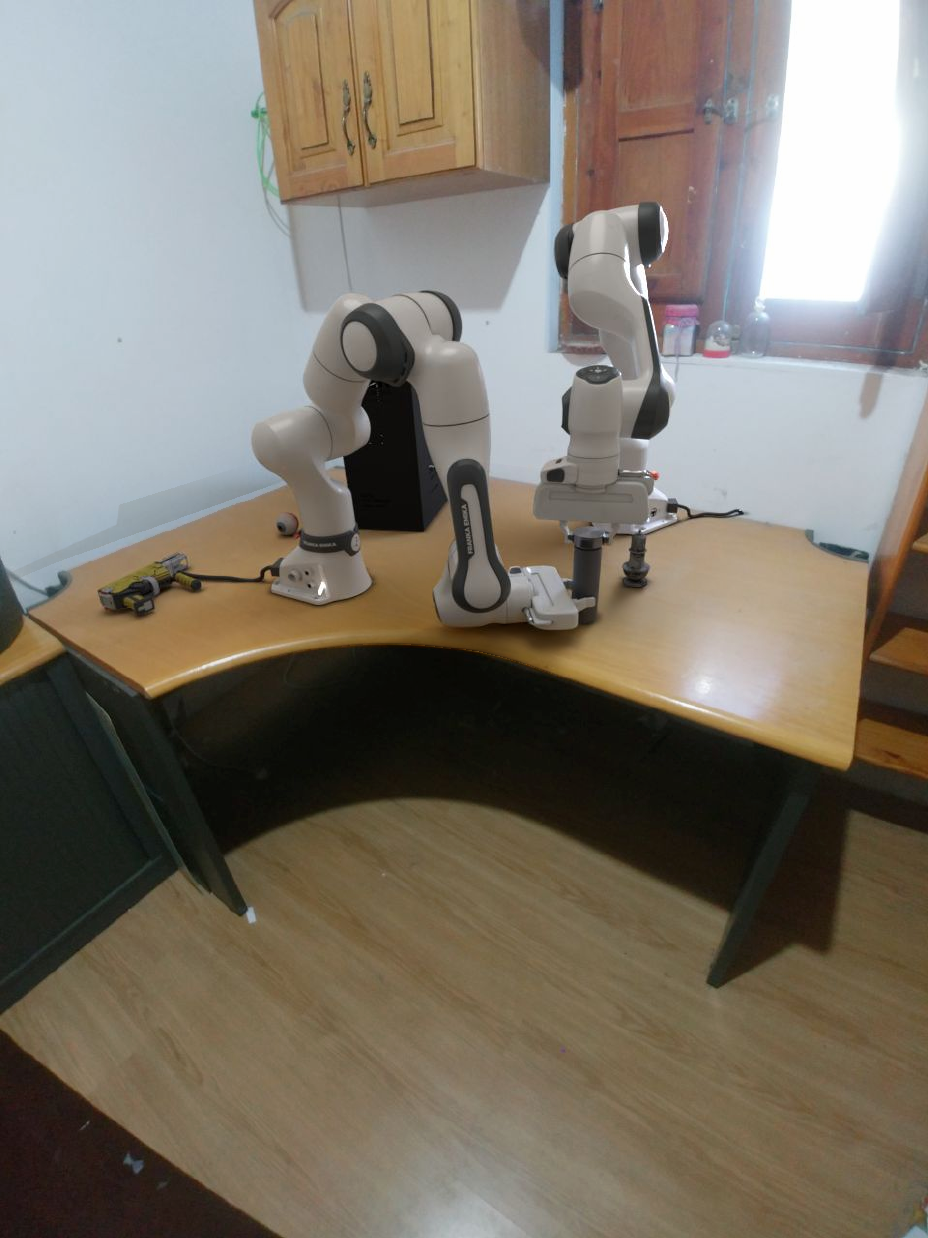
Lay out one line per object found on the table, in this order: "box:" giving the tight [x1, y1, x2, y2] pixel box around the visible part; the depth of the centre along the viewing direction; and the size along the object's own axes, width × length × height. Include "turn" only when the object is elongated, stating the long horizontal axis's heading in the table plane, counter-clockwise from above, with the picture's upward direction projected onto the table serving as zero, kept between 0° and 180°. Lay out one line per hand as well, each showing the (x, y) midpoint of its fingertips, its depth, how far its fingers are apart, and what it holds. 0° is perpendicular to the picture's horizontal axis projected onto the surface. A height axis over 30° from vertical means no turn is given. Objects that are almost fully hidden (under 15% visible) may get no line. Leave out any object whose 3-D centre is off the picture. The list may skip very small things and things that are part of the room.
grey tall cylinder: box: [570, 544, 603, 624], centre depth 114 cm, size 5×5×17 cm
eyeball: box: [275, 511, 300, 536], centre depth 163 cm, size 6×6×6 cm
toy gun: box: [97, 551, 203, 617], centre depth 137 cm, size 5×24×15 cm
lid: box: [572, 525, 606, 549], centre depth 110 cm, size 6×6×2 cm
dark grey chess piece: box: [621, 529, 651, 588], centre depth 127 cm, size 6×6×12 cm
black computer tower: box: [342, 380, 448, 532], centre depth 169 cm, size 38×20×45 cm, turn 167°
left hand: (589, 592), depth 116 cm, fingers closed on grey tall cylinder, 5 cm apart
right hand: (588, 543), depth 111 cm, fingers closed on lid, 5 cm apart
